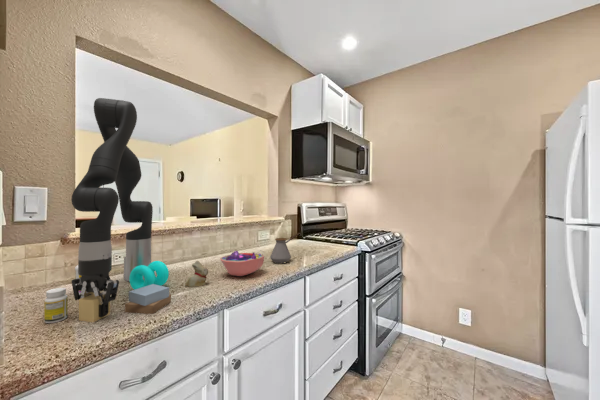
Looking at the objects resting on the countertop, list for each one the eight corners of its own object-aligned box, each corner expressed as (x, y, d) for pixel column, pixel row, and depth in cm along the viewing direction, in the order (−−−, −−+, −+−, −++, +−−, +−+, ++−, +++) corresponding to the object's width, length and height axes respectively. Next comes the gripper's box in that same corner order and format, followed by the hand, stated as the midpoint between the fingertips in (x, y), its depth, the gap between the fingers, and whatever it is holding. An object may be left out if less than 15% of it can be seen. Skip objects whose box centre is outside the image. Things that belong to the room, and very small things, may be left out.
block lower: (124, 314, 77) (124, 304, 77) (145, 302, 86) (145, 293, 86) (153, 315, 76) (153, 305, 76) (170, 303, 85) (171, 294, 85)
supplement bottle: (54, 315, 74) (54, 287, 74) (71, 315, 74) (72, 286, 74) (39, 324, 69) (39, 293, 69) (57, 323, 69) (58, 292, 69)
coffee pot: (280, 265, 133) (280, 237, 133) (265, 261, 140) (266, 234, 140) (306, 259, 148) (307, 233, 148) (292, 256, 156) (293, 231, 156)
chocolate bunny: (201, 288, 98) (201, 262, 98) (183, 286, 100) (183, 261, 100) (209, 283, 104) (209, 259, 104) (192, 282, 105) (192, 258, 105)
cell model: (271, 275, 115) (271, 250, 115) (227, 283, 104) (227, 256, 104) (255, 267, 129) (255, 245, 129) (215, 273, 118) (215, 249, 118)
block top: (78, 320, 71) (78, 299, 71) (95, 312, 76) (96, 292, 76) (93, 322, 70) (93, 300, 70) (110, 314, 75) (110, 294, 75)
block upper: (128, 301, 79) (128, 291, 79) (153, 292, 86) (153, 284, 86) (145, 305, 75) (145, 295, 75) (169, 296, 83) (169, 287, 83)
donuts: (127, 292, 93) (127, 265, 93) (150, 283, 103) (150, 259, 103) (149, 295, 90) (149, 267, 90) (170, 286, 100) (170, 260, 100)
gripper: (60, 258, 71) (60, 319, 71) (104, 260, 68) (104, 323, 68) (87, 252, 78) (87, 307, 78) (128, 254, 76) (127, 311, 76)
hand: (94, 315), depth 73 cm, fingers closed on block top, 5 cm apart
